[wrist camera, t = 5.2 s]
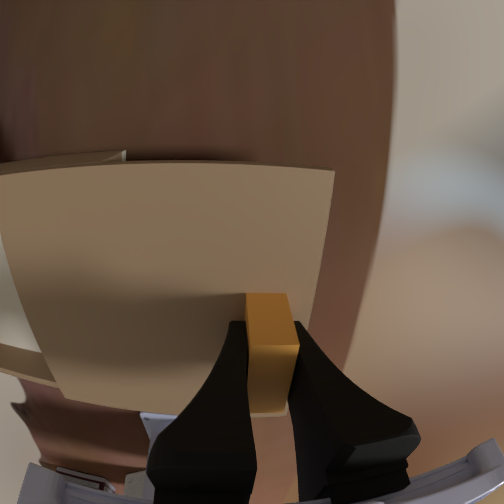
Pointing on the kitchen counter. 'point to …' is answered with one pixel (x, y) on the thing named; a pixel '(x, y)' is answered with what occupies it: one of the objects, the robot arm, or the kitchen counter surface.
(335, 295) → the kitchen counter surface
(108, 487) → the supplement box
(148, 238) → the lid panel
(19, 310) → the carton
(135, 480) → the syrup box
